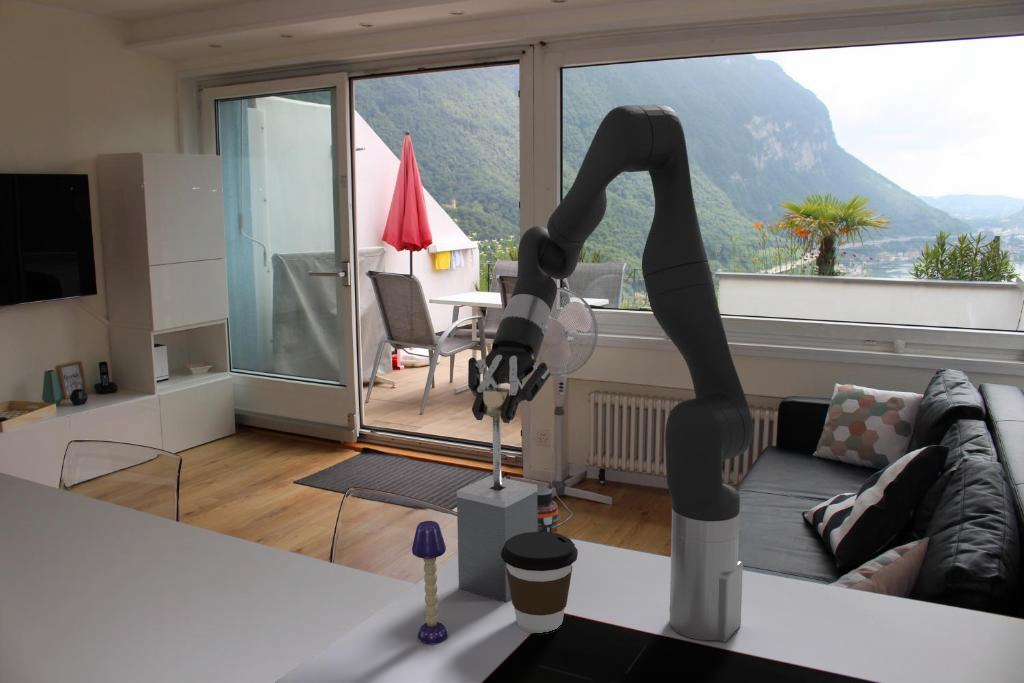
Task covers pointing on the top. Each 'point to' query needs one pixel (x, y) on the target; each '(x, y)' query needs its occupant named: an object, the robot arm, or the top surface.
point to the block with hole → (491, 532)
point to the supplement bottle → (547, 511)
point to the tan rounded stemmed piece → (495, 426)
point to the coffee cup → (539, 578)
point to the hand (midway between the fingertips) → (491, 418)
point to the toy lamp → (430, 578)
